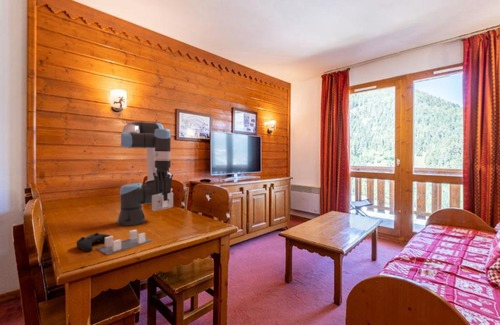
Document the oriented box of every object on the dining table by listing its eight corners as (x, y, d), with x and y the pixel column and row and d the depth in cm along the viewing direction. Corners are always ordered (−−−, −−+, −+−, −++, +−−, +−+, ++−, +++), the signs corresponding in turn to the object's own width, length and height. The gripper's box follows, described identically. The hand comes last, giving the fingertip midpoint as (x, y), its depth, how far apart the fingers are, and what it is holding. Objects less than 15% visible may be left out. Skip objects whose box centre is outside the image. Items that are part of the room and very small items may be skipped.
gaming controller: (90, 243, 101) (70, 236, 103) (88, 256, 102) (69, 250, 104) (115, 232, 115) (98, 226, 117) (113, 244, 116) (96, 238, 118)
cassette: (171, 206, 128) (171, 192, 128) (173, 207, 127) (173, 192, 126) (151, 210, 118) (151, 195, 118) (153, 211, 117) (153, 195, 117)
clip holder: (96, 249, 105) (96, 239, 105) (140, 236, 121) (140, 227, 121) (107, 255, 99) (106, 244, 99) (151, 241, 116) (151, 231, 115)
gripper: (147, 159, 122) (147, 205, 124) (165, 160, 114) (165, 210, 115) (160, 159, 128) (160, 203, 130) (178, 160, 120) (178, 207, 121)
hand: (162, 206), depth 122 cm, fingers closed on cassette, 2 cm apart
